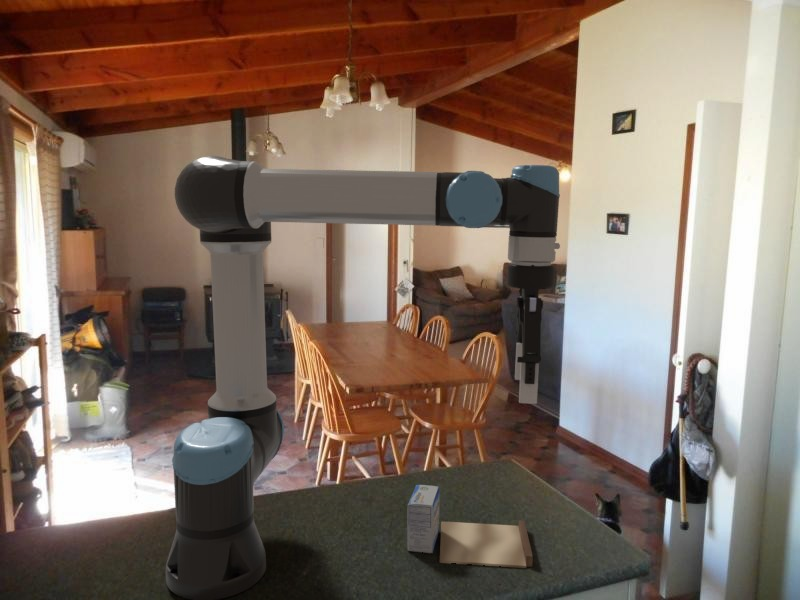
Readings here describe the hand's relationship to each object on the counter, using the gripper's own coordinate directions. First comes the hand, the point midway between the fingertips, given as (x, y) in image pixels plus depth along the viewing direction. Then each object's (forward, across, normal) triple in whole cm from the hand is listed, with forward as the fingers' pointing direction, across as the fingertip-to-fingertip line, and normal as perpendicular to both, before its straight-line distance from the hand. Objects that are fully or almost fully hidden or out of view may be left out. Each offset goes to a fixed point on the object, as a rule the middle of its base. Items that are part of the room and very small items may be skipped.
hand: (525, 390), depth 104 cm
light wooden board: (+28, -1, +6) cm, 28 cm away
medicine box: (+28, -1, +16) cm, 32 cm away
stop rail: (+28, 0, -1) cm, 28 cm away
